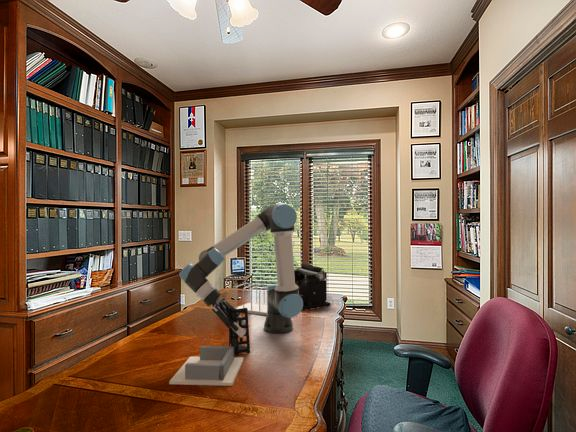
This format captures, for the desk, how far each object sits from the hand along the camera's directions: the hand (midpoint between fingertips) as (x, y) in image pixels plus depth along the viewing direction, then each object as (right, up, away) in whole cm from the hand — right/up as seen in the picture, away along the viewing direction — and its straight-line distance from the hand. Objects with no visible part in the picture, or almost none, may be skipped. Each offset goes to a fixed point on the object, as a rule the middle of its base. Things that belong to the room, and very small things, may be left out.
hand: (245, 331), depth 136 cm
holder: (-3, -9, 0) cm, 9 cm away
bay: (-11, -9, -18) cm, 22 cm away
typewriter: (+27, -10, +80) cm, 85 cm away
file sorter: (-1, -10, +64) cm, 64 cm away
